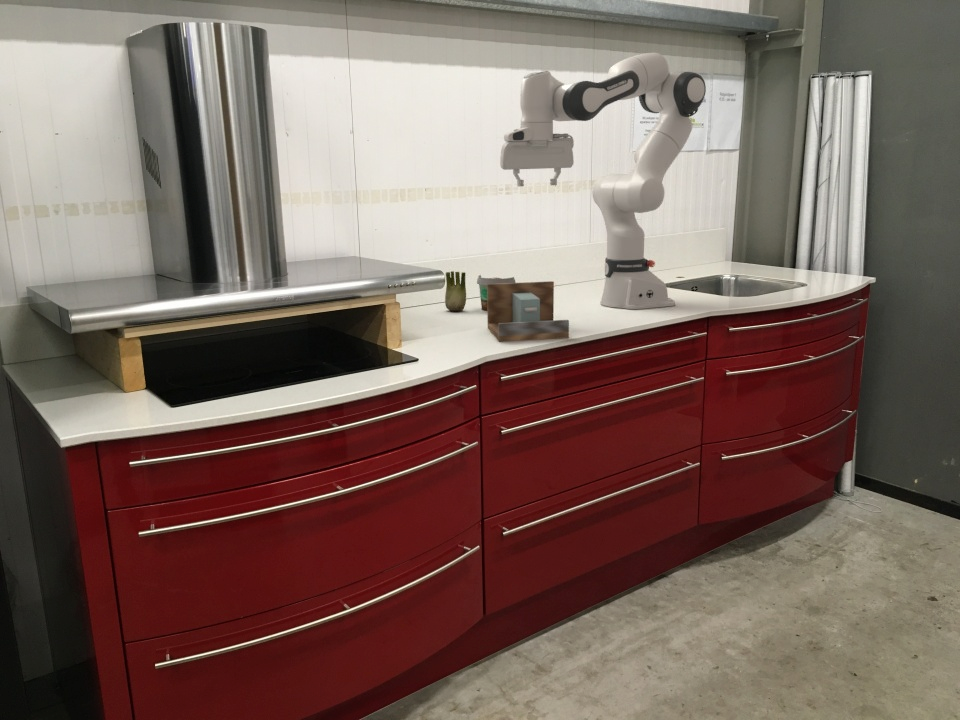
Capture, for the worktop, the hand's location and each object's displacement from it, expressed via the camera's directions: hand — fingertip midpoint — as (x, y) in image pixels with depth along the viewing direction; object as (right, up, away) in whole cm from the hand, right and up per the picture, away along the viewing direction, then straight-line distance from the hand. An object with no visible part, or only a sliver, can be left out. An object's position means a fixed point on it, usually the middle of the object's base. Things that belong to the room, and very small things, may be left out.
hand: (537, 185), depth 220 cm
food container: (-12, -34, +17) cm, 40 cm away
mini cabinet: (-4, -39, -12) cm, 41 cm away
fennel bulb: (-23, -34, +18) cm, 45 cm away
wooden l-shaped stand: (-4, -41, -13) cm, 43 cm away
